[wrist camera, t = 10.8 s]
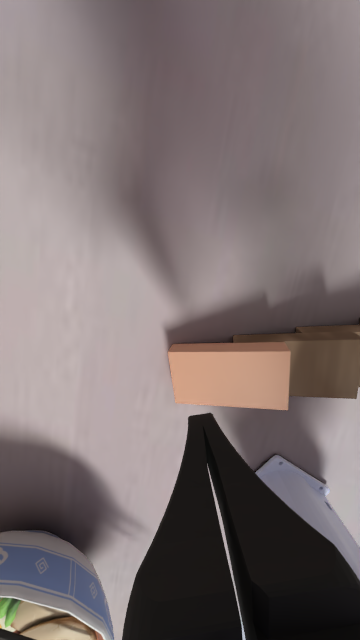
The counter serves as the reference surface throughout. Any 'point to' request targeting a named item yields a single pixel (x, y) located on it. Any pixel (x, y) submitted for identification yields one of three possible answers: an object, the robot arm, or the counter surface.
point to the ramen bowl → (49, 590)
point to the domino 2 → (330, 330)
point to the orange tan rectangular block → (231, 374)
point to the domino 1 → (318, 362)
